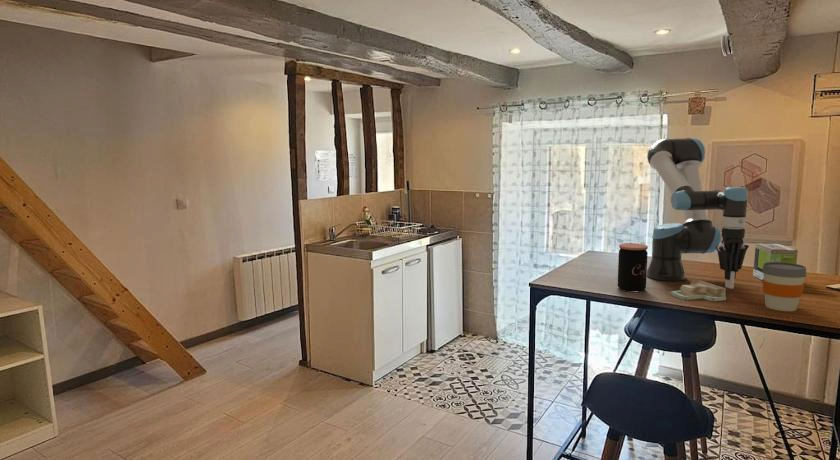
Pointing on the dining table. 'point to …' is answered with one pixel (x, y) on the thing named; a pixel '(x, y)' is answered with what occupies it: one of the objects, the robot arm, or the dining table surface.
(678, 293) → the t outline
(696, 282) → the t block
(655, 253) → the robot arm
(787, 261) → the tea box
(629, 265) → the coffee jar
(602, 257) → the dining table surface
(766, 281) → the reusable coffee cup
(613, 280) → the dining table surface
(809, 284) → the dining table surface
